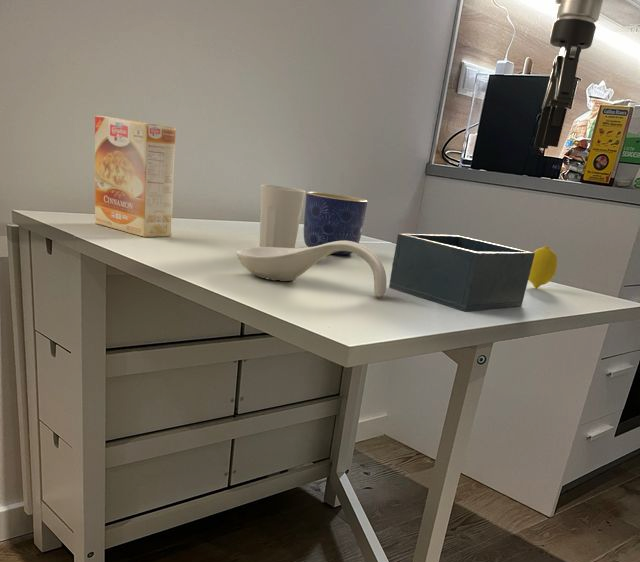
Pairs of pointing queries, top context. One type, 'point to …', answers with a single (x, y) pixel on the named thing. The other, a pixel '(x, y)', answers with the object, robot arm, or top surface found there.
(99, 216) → the coffeecake box
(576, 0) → the robot arm
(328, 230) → the planter
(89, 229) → the top surface
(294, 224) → the cup
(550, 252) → the lemon
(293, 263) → the spoon rest
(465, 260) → the dark grey open box
